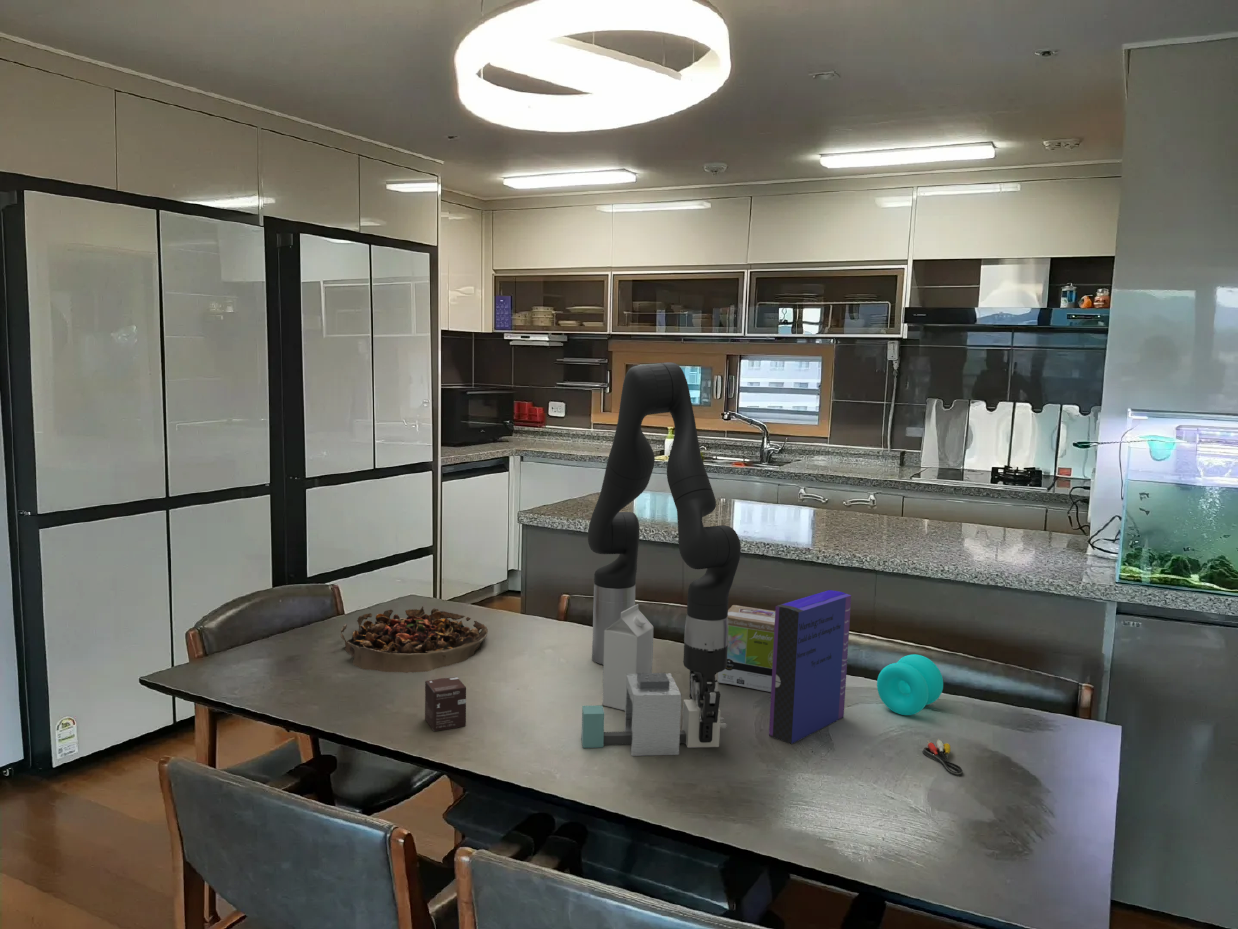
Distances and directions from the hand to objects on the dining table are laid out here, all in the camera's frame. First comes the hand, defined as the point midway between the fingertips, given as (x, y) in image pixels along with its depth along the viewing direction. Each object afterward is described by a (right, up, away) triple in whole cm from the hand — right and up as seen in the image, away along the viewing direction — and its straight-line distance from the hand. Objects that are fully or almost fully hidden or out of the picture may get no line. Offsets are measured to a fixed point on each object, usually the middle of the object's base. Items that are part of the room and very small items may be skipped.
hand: (701, 734), depth 145 cm
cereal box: (+20, -1, +8) cm, 22 cm away
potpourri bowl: (-62, +5, +46) cm, 77 cm away
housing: (-9, -1, -1) cm, 9 cm away
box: (-46, 0, +5) cm, 46 cm away
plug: (-8, -1, -1) cm, 9 cm away
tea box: (+15, +1, +29) cm, 32 cm away
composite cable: (+40, -4, -5) cm, 40 cm away
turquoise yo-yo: (+42, -1, +17) cm, 46 cm away
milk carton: (-13, +1, +16) cm, 20 cm away
